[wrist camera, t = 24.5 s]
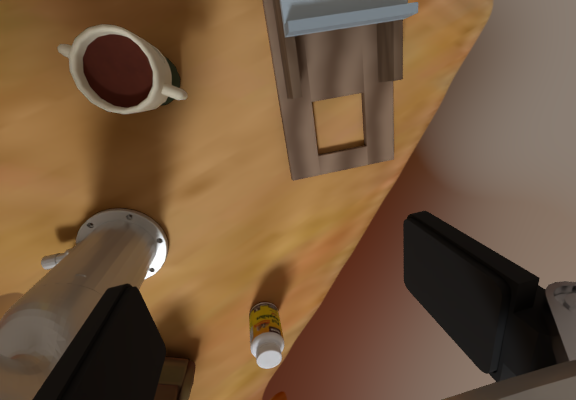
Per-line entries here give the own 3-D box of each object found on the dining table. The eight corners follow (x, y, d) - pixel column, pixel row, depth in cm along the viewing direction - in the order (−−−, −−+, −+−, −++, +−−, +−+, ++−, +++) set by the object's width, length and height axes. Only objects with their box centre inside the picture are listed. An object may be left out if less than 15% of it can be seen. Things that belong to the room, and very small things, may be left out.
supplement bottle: (280, 301, 52) (290, 347, 42) (274, 324, 53) (282, 373, 44) (251, 299, 50) (255, 346, 41) (246, 322, 52) (248, 372, 42)
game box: (291, 178, 43) (298, 189, 38) (257, -30, 33) (261, -51, 28) (390, 158, 45) (409, 165, 40) (387, -46, 35) (411, -69, 30)
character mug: (205, 70, 36) (190, 56, 24) (191, 122, 38) (170, 133, 26) (115, 31, 33) (46, -7, 21) (104, 90, 35) (35, 86, 23)
